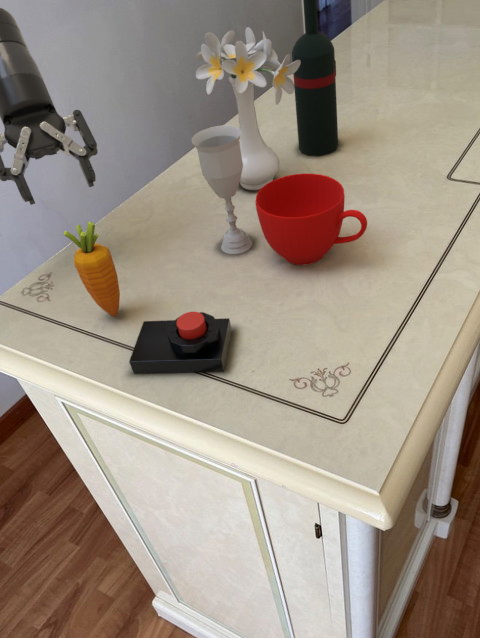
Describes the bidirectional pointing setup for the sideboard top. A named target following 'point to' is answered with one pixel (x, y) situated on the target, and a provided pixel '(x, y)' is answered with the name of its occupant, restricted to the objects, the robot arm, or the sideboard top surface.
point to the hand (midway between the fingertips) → (62, 193)
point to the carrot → (96, 269)
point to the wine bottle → (315, 88)
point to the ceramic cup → (304, 216)
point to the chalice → (223, 176)
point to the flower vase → (248, 94)
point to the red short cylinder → (191, 325)
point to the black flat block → (181, 348)
